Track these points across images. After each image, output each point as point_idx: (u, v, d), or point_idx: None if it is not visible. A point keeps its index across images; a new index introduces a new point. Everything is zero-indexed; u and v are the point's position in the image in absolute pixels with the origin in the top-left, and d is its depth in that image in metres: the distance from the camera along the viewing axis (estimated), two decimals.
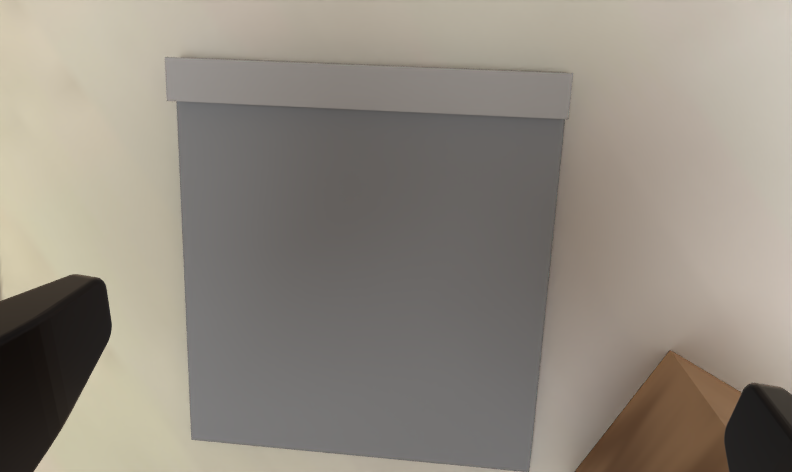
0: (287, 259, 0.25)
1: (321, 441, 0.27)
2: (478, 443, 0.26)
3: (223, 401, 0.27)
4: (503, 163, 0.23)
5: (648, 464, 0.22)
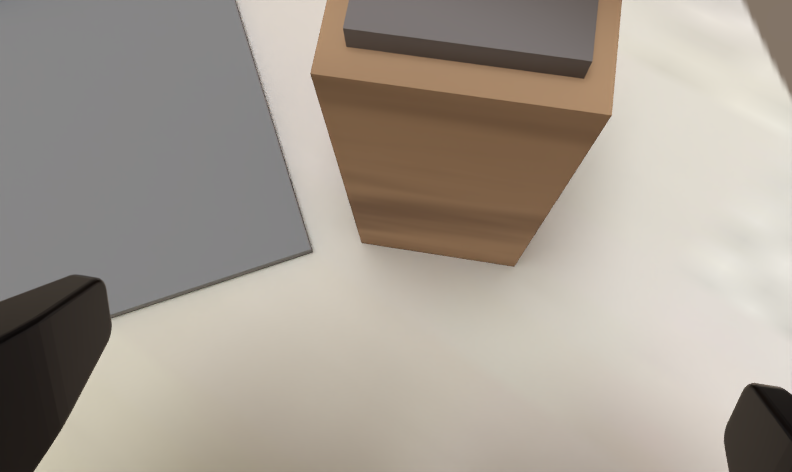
0: (0, 132, 0.25)
1: None
2: (246, 240, 0.23)
3: None
4: None
5: None
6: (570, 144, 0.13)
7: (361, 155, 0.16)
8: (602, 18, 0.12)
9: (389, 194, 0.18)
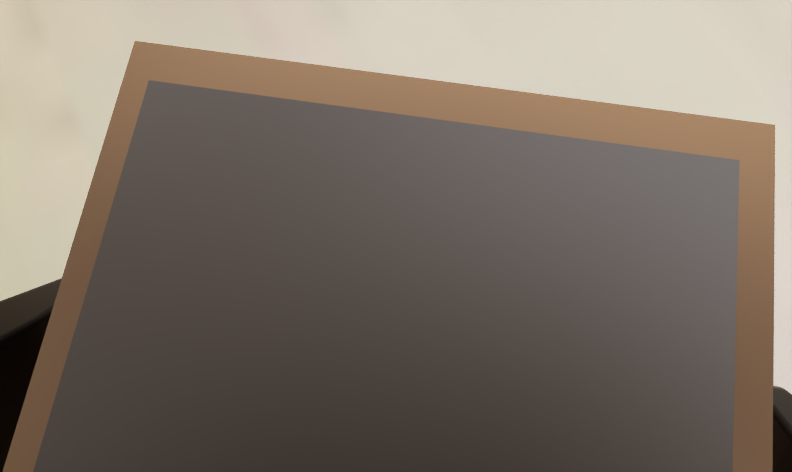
0: None
1: None
2: None
3: None
4: None
5: None
6: None
7: None
8: None
9: None
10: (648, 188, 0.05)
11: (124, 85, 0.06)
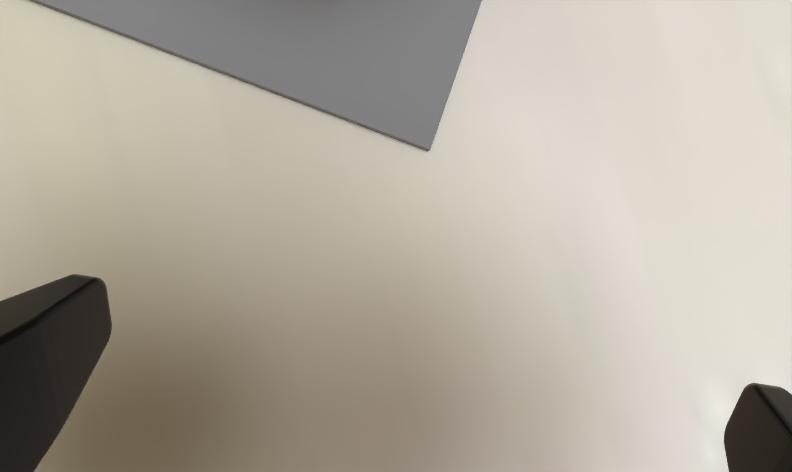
0: None
1: (185, 39, 0.20)
2: (382, 96, 0.22)
3: None
4: None
5: None
6: None
7: None
8: None
9: None
10: None
11: None
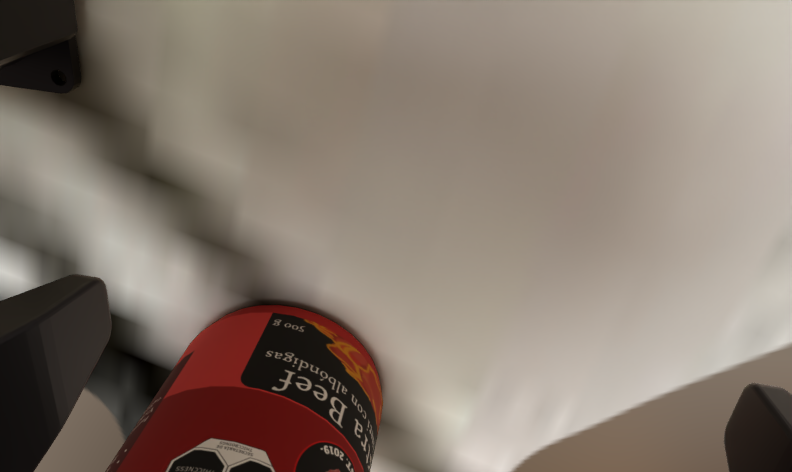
0: None
1: None
2: None
3: None
4: None
5: None
6: None
7: None
8: None
9: None
10: None
11: None
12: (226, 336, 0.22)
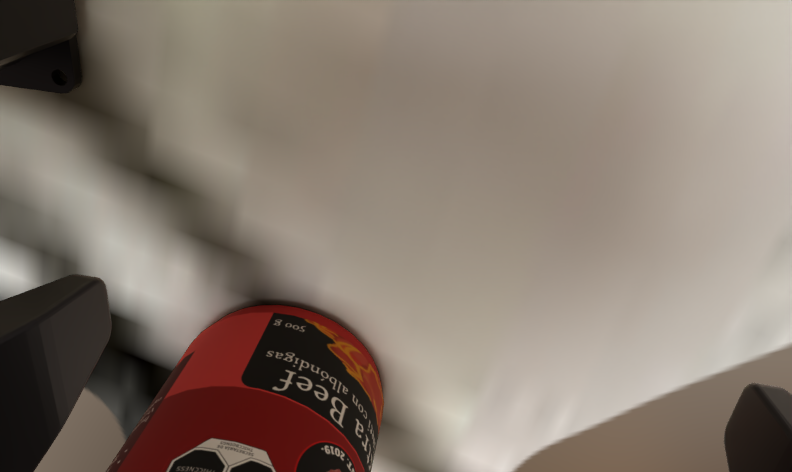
0: None
1: None
2: None
3: None
4: None
5: None
6: None
7: None
8: None
9: None
10: None
11: None
12: (226, 336, 0.22)
